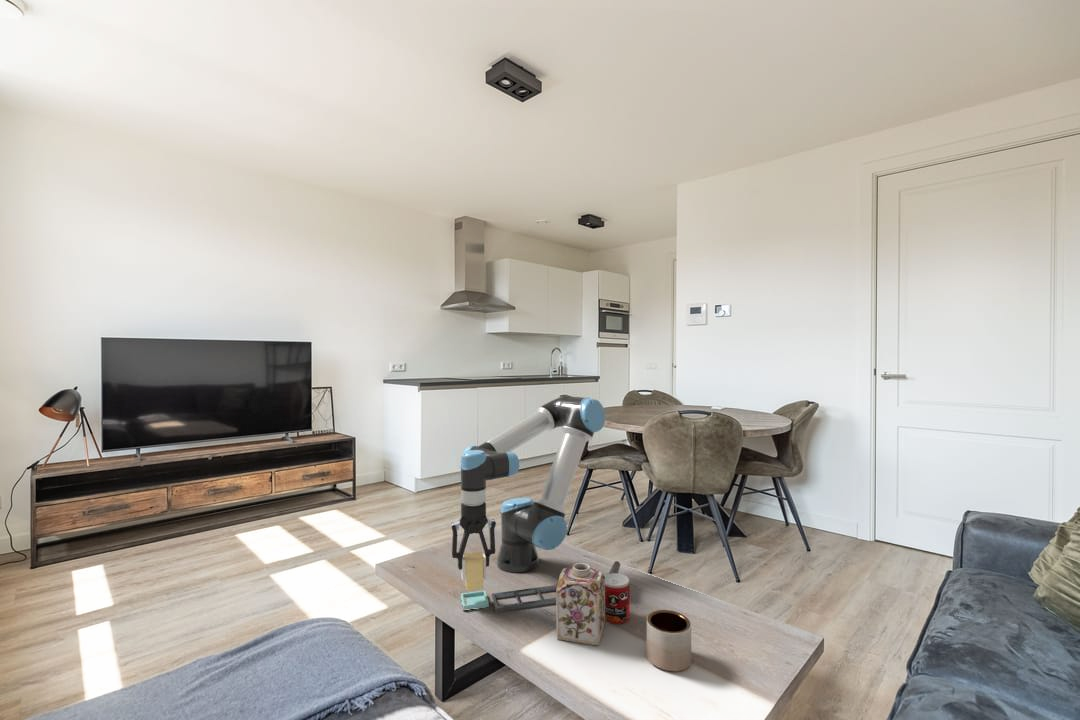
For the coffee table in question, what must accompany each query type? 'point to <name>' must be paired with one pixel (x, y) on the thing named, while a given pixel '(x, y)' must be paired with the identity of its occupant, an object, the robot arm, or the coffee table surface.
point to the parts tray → (475, 600)
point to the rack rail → (524, 604)
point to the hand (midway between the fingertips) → (473, 577)
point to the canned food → (617, 598)
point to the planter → (669, 640)
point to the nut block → (474, 570)
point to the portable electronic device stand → (615, 568)
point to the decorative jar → (580, 604)
